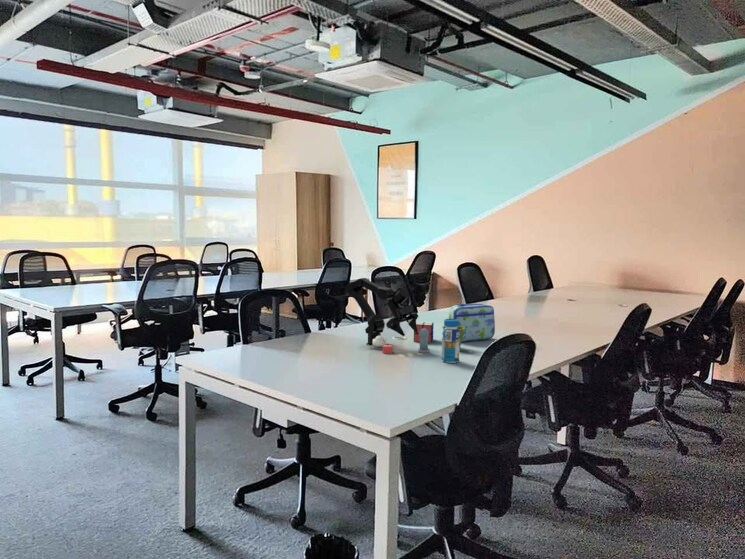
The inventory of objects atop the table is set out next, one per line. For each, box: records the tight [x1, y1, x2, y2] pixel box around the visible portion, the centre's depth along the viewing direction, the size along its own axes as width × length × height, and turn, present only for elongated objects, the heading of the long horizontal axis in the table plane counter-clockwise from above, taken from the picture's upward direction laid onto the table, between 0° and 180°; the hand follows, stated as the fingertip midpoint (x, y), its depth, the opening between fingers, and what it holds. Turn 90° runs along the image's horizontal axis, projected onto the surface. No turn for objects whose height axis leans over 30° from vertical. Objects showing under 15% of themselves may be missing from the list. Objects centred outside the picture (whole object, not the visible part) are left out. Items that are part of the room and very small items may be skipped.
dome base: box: [370, 345, 383, 351], centre depth 279 cm, size 9×9×2 cm
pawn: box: [417, 328, 430, 354], centre depth 270 cm, size 6×6×12 cm
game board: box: [398, 351, 432, 358], centre depth 267 cm, size 22×10×1 cm, turn 126°
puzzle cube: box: [413, 321, 435, 343], centre depth 304 cm, size 10×10×10 cm
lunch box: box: [448, 303, 496, 343], centre depth 307 cm, size 26×11×21 cm, turn 108°
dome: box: [373, 335, 387, 347], centre depth 279 cm, size 7×7×5 cm
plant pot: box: [441, 325, 465, 350], centre depth 285 cm, size 12×12×11 cm
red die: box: [382, 344, 393, 355], centre depth 269 cm, size 4×4×5 cm
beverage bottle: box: [441, 318, 461, 364], centre depth 256 cm, size 8×8×20 cm
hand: (410, 334), depth 276 cm, fingers open, 9 cm apart
